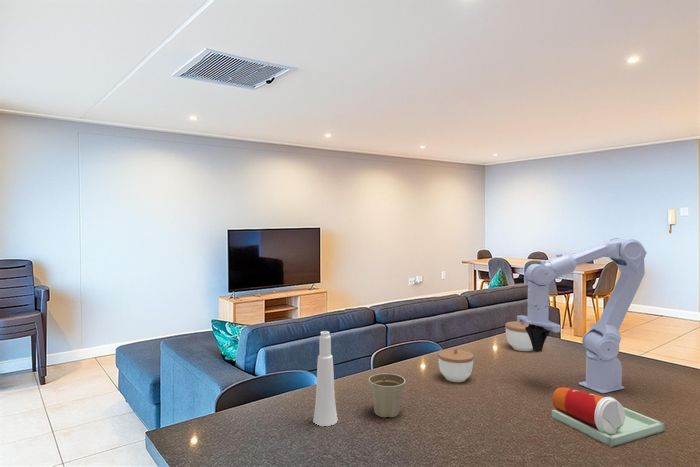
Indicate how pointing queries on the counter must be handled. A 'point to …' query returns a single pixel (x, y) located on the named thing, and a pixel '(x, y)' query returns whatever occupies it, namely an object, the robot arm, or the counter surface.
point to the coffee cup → (590, 409)
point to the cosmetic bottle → (325, 384)
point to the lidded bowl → (518, 336)
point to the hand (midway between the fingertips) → (537, 351)
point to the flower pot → (386, 393)
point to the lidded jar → (455, 364)
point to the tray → (630, 431)
